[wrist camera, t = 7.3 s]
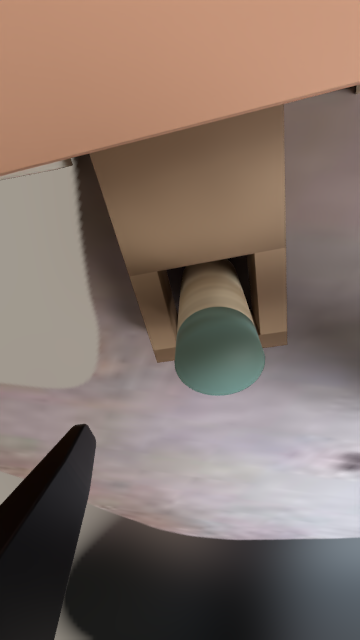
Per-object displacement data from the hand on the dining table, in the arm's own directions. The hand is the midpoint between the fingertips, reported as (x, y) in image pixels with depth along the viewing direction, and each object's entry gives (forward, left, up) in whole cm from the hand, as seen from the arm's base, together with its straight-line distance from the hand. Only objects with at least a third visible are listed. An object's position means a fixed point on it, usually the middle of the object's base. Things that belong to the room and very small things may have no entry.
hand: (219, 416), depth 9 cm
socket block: (+5, 0, -11) cm, 12 cm away
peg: (0, 0, -11) cm, 11 cm away
